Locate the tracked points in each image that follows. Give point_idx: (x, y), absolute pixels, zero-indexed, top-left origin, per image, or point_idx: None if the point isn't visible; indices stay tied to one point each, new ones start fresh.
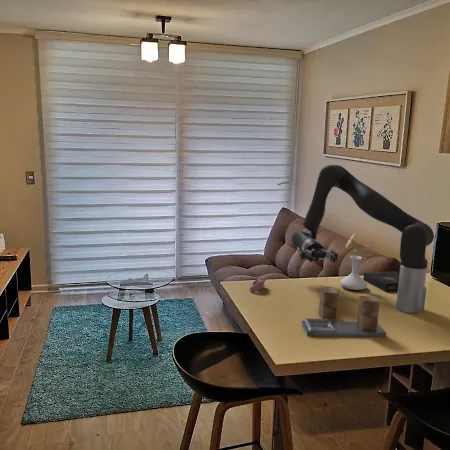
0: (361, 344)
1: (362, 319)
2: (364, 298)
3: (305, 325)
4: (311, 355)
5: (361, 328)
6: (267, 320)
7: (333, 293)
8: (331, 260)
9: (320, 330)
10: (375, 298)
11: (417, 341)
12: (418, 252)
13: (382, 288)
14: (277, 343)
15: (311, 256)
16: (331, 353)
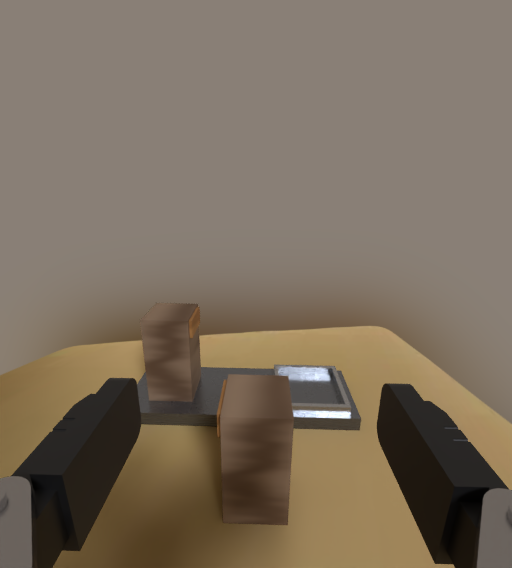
0: (228, 355)
1: (199, 353)
2: (186, 311)
3: (347, 393)
4: (332, 334)
5: (200, 375)
6: (486, 459)
7: (249, 377)
8: (111, 471)
9: (309, 371)
10: (152, 311)
11: (95, 362)
12: None
13: None
14: (400, 359)
15: (402, 386)
16: (297, 337)
